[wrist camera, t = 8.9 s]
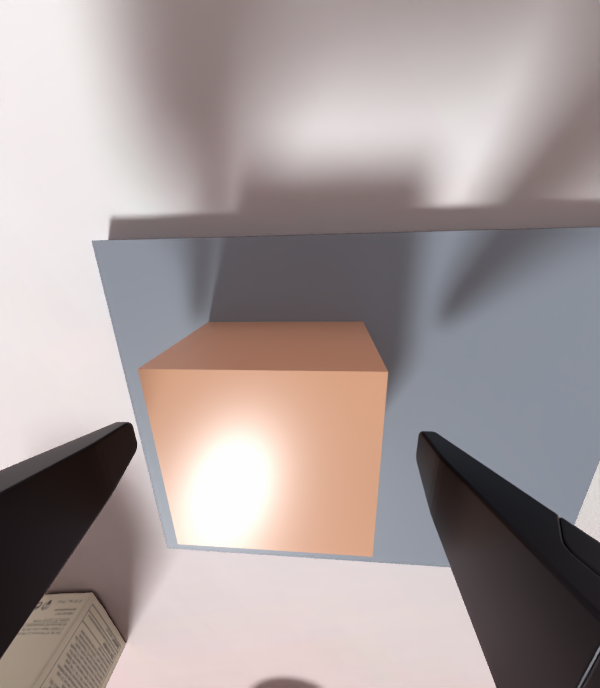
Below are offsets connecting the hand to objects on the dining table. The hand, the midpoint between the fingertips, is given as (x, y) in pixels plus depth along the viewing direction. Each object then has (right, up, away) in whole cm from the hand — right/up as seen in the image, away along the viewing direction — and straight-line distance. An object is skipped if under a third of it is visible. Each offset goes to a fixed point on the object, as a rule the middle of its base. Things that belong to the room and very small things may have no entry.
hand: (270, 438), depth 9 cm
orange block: (0, +1, +3) cm, 3 cm away
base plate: (+3, -1, +4) cm, 6 cm away
